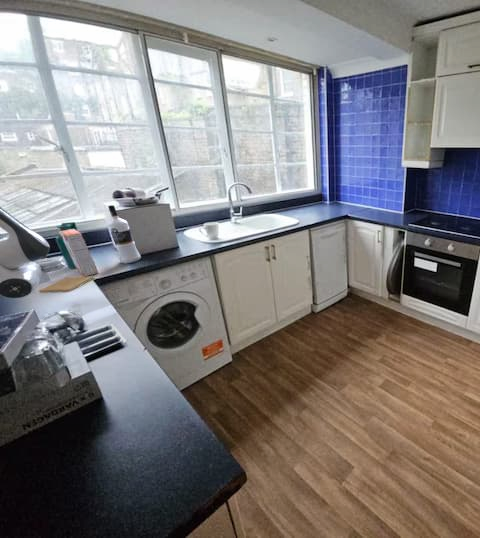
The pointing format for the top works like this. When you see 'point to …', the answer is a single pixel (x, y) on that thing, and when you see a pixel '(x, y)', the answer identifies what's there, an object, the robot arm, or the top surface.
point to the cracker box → (79, 252)
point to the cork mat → (66, 284)
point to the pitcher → (62, 245)
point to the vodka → (122, 238)
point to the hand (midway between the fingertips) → (30, 262)
